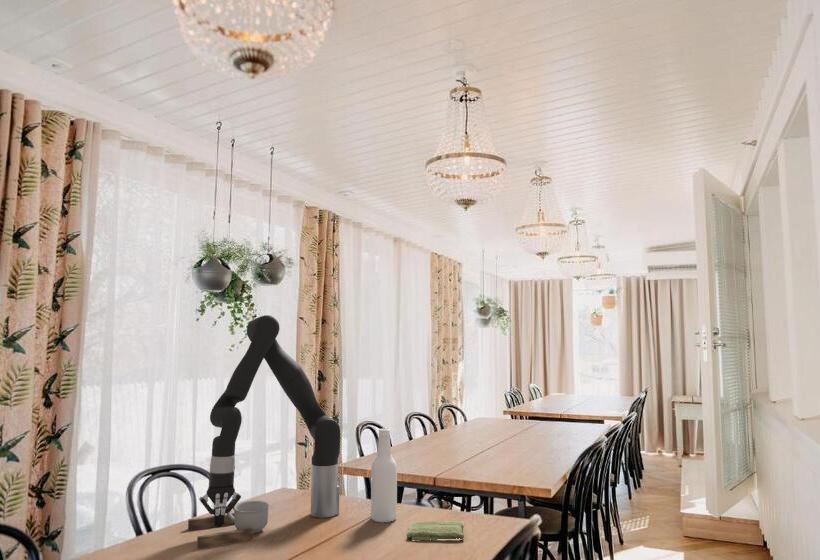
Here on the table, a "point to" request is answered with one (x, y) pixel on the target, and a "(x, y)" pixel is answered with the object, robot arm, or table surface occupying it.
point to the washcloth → (436, 530)
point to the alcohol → (384, 481)
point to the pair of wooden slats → (219, 537)
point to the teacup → (250, 515)
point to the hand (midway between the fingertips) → (218, 527)
